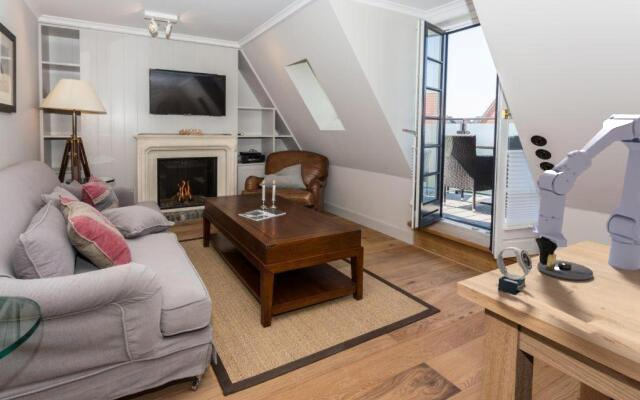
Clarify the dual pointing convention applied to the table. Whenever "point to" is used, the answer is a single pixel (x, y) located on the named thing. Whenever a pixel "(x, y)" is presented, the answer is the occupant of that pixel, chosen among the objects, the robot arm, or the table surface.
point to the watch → (511, 281)
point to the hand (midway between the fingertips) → (545, 264)
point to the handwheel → (565, 269)
